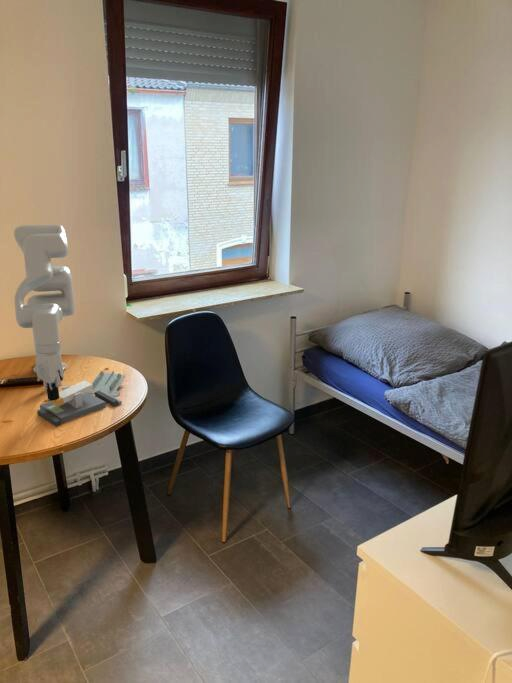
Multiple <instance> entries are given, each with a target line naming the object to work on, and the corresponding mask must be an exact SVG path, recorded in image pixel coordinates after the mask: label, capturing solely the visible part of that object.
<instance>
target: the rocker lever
mask: <svg viewBox="0 0 512 683" xmlns="http://www.w3.org/2000/svg"><path fill="white" fill-rule="evenodd" d="M93 389H94V388H93V384H92V383H91V382H89V381H88V380H82V381H80V382H78V383H76V384H73V385H71V386H69V388H66V389H65V390H63V391H62V390H59V399H56V400H53V401H50V400H49V402H51V403H52V404H54V405H56V406H57V407H59V406H61V405H63V404H64V403H66V402H68V401H70V400H72V399H74V394H76V393H79V392H81V394H82V395H83V394H85V393H87V392H89V391H91V390H93Z"/></svg>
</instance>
